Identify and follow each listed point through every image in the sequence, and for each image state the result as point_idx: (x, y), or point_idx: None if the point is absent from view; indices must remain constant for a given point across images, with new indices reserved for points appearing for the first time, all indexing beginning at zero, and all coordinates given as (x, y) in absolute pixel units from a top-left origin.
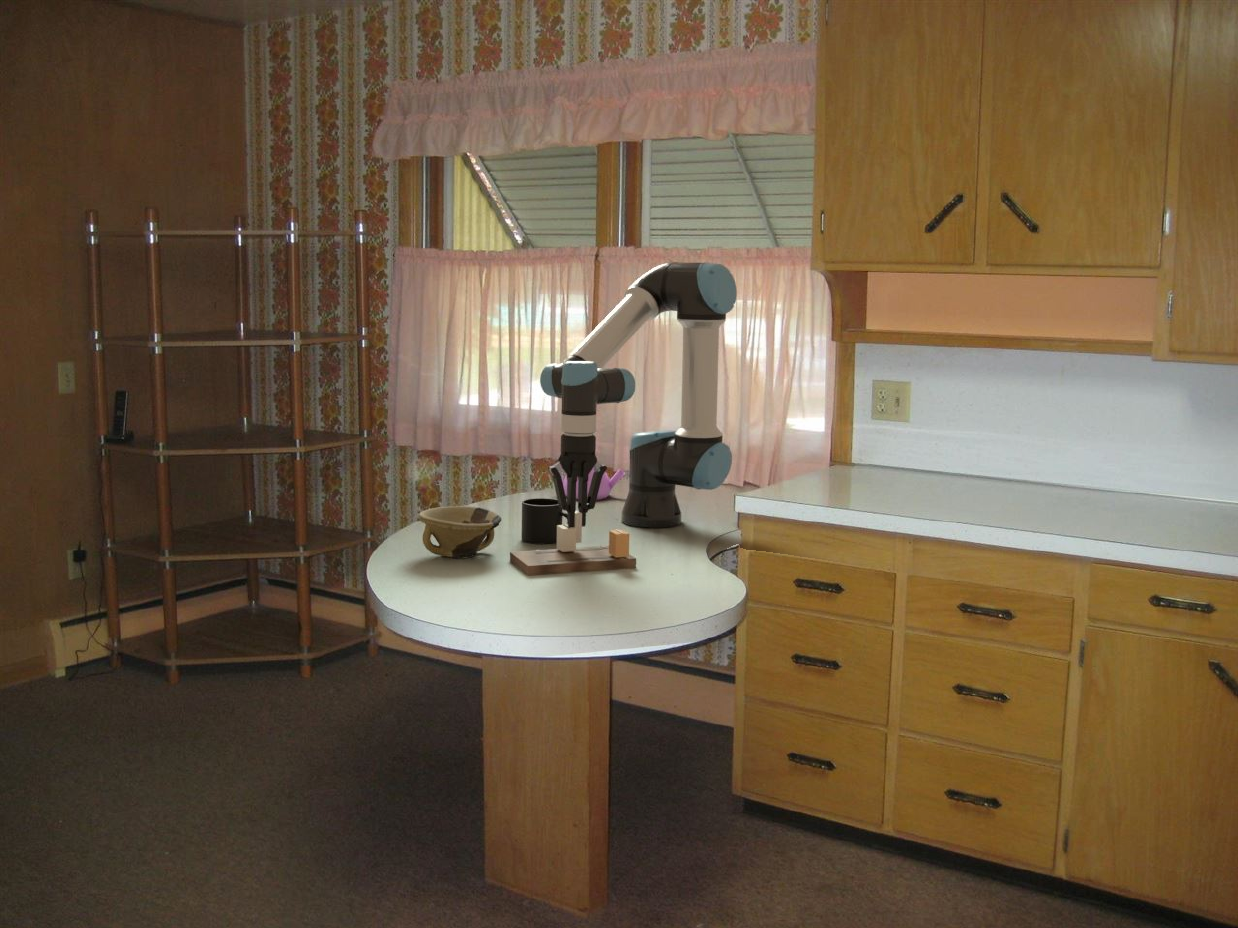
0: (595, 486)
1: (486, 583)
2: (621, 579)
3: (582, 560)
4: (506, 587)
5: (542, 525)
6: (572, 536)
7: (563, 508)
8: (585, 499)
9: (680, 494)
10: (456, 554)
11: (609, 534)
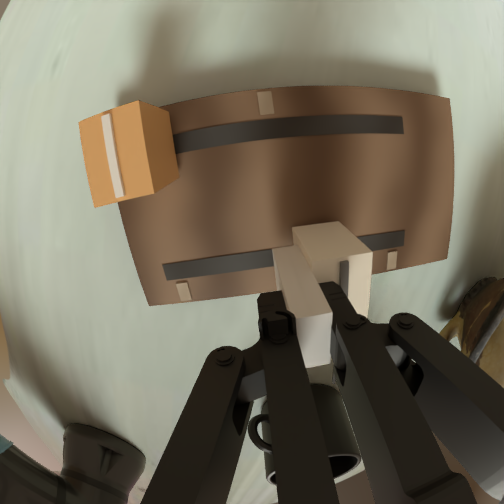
0: (190, 485)
1: (492, 80)
2: (196, 2)
3: (294, 108)
4: (467, 37)
5: (322, 415)
6: (319, 243)
7: (412, 318)
8: (280, 390)
9: None
10: (494, 279)
11: (159, 187)
